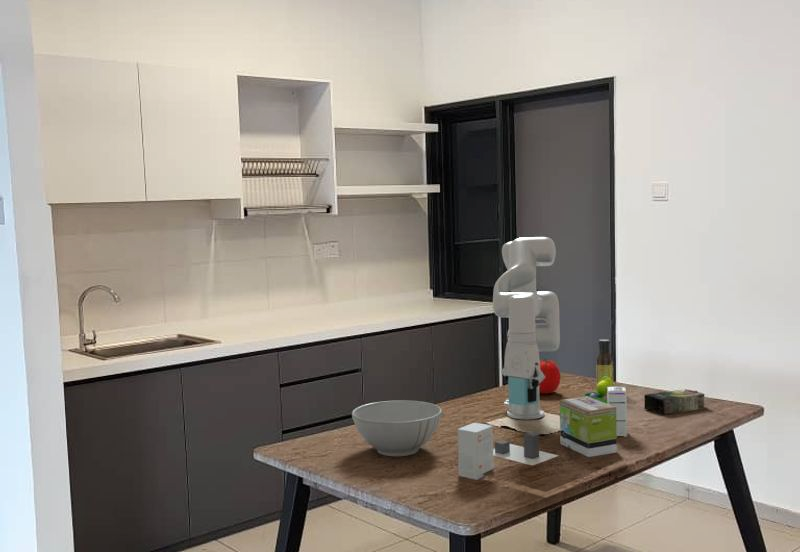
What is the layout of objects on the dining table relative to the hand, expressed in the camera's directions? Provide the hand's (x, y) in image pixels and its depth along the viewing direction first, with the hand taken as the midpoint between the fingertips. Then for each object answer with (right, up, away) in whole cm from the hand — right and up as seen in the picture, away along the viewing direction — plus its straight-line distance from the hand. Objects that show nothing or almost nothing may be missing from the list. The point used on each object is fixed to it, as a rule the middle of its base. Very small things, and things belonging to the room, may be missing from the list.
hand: (523, 399), depth 243 cm
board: (-1, -16, -3) cm, 17 cm away
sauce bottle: (+42, -9, +76) cm, 87 cm away
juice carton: (+60, -11, +47) cm, 77 cm away
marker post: (+2, -15, -6) cm, 17 cm away
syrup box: (+32, -14, +18) cm, 39 cm away
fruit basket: (+35, -11, +50) cm, 62 cm away
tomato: (+20, -9, +77) cm, 80 cm away
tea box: (+19, -16, +1) cm, 25 cm away
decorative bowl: (-36, -17, +8) cm, 41 cm away
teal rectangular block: (0, -1, 0) cm, 1 cm away
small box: (-15, -18, -16) cm, 28 cm away
